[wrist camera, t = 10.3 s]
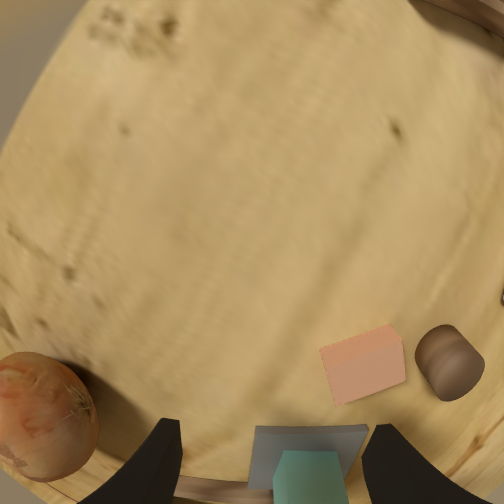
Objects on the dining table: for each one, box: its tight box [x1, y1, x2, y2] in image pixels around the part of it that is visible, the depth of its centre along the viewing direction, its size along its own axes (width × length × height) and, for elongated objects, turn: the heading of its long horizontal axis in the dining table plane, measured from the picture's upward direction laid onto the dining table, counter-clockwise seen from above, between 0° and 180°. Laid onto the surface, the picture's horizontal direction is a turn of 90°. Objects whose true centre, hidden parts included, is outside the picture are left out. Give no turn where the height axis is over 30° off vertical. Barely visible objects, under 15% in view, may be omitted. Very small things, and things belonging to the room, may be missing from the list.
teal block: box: [273, 450, 349, 504], centre depth 20 cm, size 4×4×6 cm
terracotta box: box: [319, 324, 406, 406], centre depth 19 cm, size 5×4×2 cm
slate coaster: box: [248, 424, 368, 489], centre depth 23 cm, size 9×9×1 cm
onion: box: [0, 352, 99, 482], centre depth 17 cm, size 10×10×10 cm
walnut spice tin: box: [415, 325, 485, 401], centre depth 18 cm, size 4×4×4 cm
